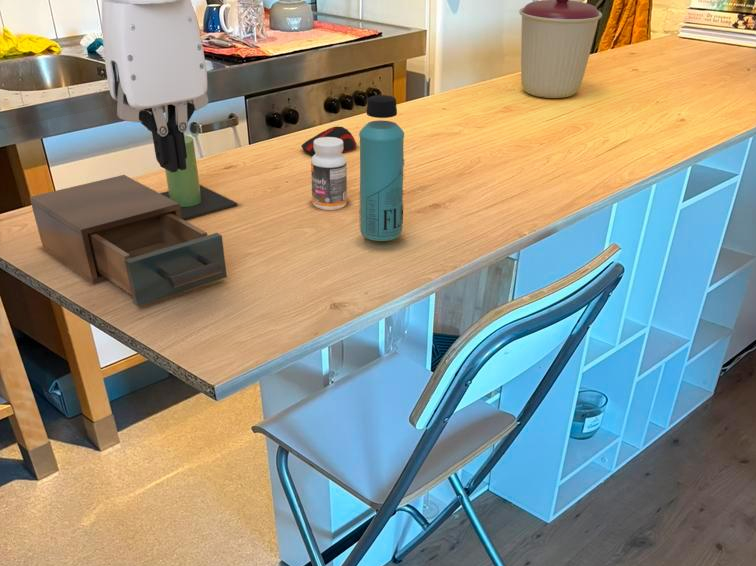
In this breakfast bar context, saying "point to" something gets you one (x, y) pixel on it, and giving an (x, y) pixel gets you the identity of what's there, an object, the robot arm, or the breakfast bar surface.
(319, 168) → the pill bottle
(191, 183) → the green can
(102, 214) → the cabinet
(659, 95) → the breakfast bar surface
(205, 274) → the drawer
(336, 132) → the computer mouse
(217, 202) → the mat
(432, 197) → the breakfast bar surface
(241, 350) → the breakfast bar surface
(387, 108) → the beverage bottle
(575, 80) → the canister
